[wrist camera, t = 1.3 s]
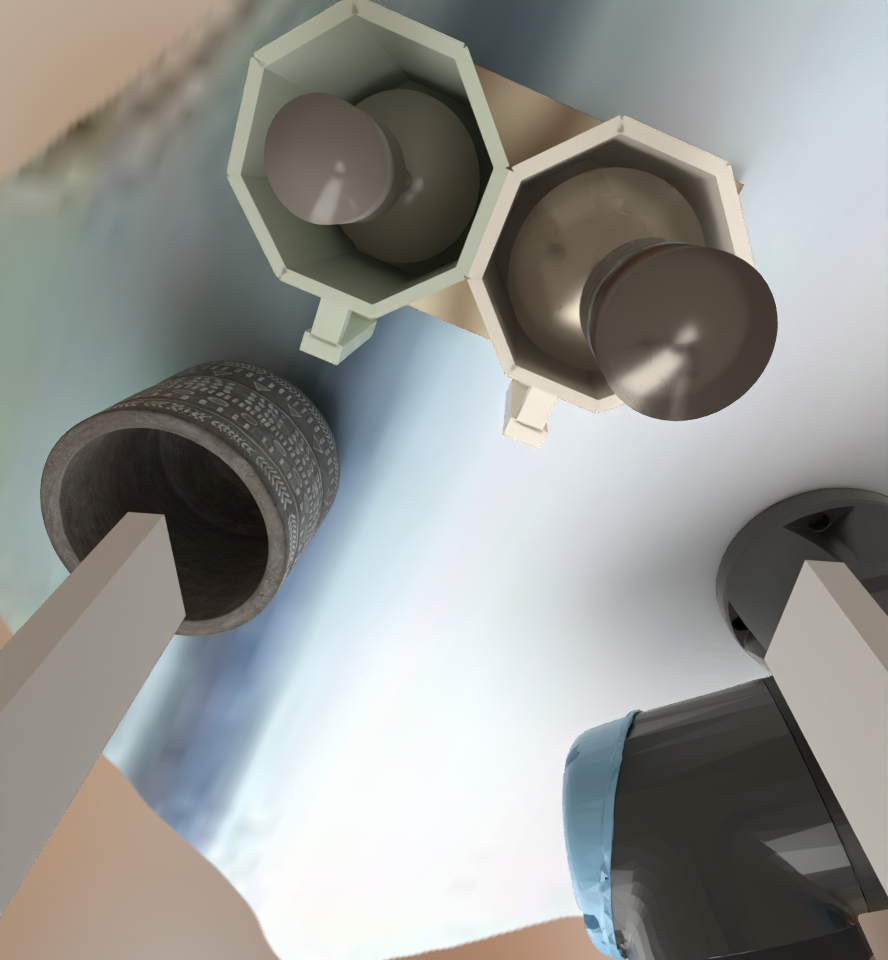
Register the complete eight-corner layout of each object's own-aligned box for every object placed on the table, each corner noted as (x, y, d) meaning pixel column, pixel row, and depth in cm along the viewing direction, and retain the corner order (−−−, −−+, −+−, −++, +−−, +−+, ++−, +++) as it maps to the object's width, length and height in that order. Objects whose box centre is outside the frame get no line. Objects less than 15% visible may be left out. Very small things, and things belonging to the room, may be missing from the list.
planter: (191, 318, 45) (45, 366, 31) (377, 389, 45) (315, 466, 31) (162, 486, 50) (29, 588, 37) (327, 546, 51) (256, 670, 37)
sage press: (536, 125, 36) (551, 39, 18) (446, 350, 42) (389, 458, 24) (361, 47, 36) (194, -123, 18) (294, 286, 42) (117, 346, 23)
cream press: (707, 200, 37) (805, 196, 24) (594, 413, 43) (625, 499, 30) (536, 125, 36) (544, 79, 24) (446, 350, 42) (414, 412, 29)
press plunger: (740, 216, 26) (990, 223, 12) (641, 393, 30) (749, 558, 16) (558, 135, 26) (601, 47, 12) (479, 324, 29) (441, 430, 15)
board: (737, 185, 37) (743, 184, 36) (624, 393, 43) (627, 398, 42) (366, 19, 36) (361, 13, 35) (301, 255, 42) (295, 257, 41)
